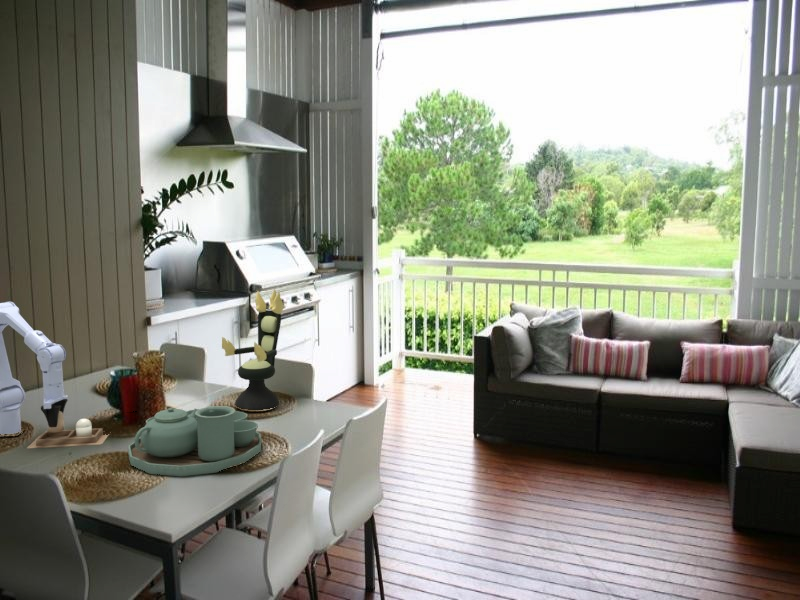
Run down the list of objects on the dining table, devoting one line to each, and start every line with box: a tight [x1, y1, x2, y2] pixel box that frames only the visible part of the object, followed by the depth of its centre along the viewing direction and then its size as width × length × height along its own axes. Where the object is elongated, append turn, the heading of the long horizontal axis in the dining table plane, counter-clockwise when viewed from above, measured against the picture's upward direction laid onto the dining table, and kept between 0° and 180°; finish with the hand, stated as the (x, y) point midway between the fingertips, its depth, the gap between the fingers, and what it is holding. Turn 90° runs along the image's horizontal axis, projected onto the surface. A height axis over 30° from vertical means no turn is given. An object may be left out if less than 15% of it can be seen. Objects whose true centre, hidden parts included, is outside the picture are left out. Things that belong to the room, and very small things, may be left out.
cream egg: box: [75, 418, 93, 437], centre depth 215 cm, size 5×5×7 cm
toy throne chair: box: [221, 288, 284, 410], centre depth 254 cm, size 19×22×45 cm
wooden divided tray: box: [25, 427, 110, 449], centre depth 214 cm, size 22×13×2 cm, turn 101°
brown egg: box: [47, 411, 65, 433], centre depth 213 cm, size 5×5×7 cm
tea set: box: [127, 405, 262, 477], centre depth 205 cm, size 40×40×16 cm
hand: (55, 424), depth 213 cm, fingers closed on brown egg, 5 cm apart
